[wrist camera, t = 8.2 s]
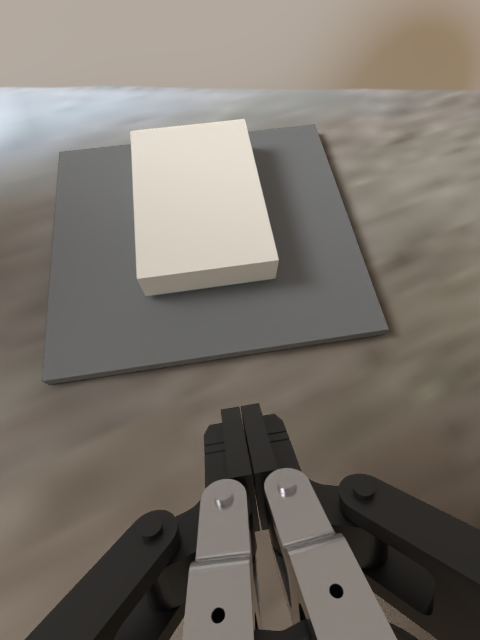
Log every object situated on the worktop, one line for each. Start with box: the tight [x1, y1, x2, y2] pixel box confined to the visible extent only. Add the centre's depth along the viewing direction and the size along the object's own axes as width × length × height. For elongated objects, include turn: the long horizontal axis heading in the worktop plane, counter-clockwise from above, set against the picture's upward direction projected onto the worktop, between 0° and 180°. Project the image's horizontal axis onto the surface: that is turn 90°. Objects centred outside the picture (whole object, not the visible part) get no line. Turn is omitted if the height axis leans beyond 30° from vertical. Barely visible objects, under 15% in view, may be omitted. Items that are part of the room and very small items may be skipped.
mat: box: [42, 124, 389, 385], centre depth 24 cm, size 20×18×1 cm
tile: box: [130, 119, 279, 296], centre depth 23 cm, size 8×2×12 cm
